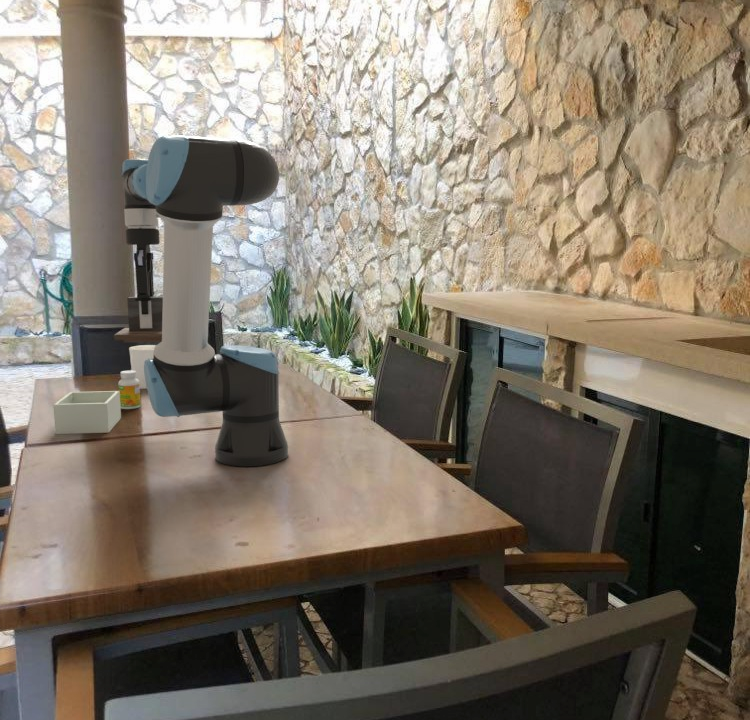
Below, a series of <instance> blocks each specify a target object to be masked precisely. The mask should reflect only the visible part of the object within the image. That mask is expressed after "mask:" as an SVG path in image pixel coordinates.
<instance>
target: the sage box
mask: <svg viewBox="0 0 750 720" xmlns="http://www.w3.org/2000/svg"><path fill="white" fill-rule="evenodd" d="M121 411H122V409H121V408H120V391H119V390H108V391H107V390H106V391H105V390H103V391H102V390H101V391H69V392H68V393H66V394H65V395H63V397H61V398H60V399H59V400H57V402H56V401H55V403H54V404H53V415H54V416H53V417H54V418H53V419H54V429H55V431H54V434H55V435H65V434H67V435H68V434H69V435H70V434H98V433H99V434H103V433H106V434H107V433H110V432H111V430H112V429H113V428H114V427H115V426H116V425H117V424H118V422H119V421H120V420H121V418H122V412H121Z"/></svg>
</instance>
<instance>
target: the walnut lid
mask: <svg viewBox="0 0 750 720" xmlns="http://www.w3.org/2000/svg"><path fill="white" fill-rule="evenodd" d="M135 298H137V296H129V297H127V301H126V302H127V314H128V327H124V328H122V329H121V330H119V331H118V332H116V333H115V334H113V338H114V339H113V340H114V341H122V343H153V342H155V343H156V342H158V343H160V342H162V313H163V296H156V297H150V301H151V309H152V328H140V315H139V301H136V300H135Z"/></svg>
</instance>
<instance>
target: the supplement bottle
mask: <svg viewBox="0 0 750 720" xmlns="http://www.w3.org/2000/svg"><path fill="white" fill-rule="evenodd" d="M135 377H136V371H132V369H130V370H129V369H128V370H122V371H120V378H121V379H120V380H119V381H118V385H117V386H118V391H120V408H121V410H135V409H138V408H140V407H141V389H140V384H139V380H138V379H136V378H135Z"/></svg>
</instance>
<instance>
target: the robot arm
mask: <svg viewBox="0 0 750 720" xmlns="http://www.w3.org/2000/svg"><path fill="white" fill-rule="evenodd" d="M148 154H149V155H148V158H147V159H141V158H131V159H125V160H123V162H122V172H121V177H122V186H123V198H124V199H123V200H124V202H123V203H124V209H123V211H124V225H125V227H127V228H126V230H125V241H126V244H127V245H129V246H130V245H131V246H133V245H134V246H135V248H136V252H134V253H133V261H134V267H135V281H136V297H137V298H135V300H136V301H139V315H140V328H152V309H151V301H150V297H157V295H155V292H154V265H153V264H154V263H153V262H154V253H153V252H151V246H150V245H159V244H160V241H161V239H160V230H159V229H158V228H157V227H158V226H159V219H158V218H160V219H161V220H162V221H163V222H164V223H163V225H164V226H163V228H164V229H163V270H162V271H163V272H162V273H163V275H162V276H163V277H162V278H163V279H162V297H163V313H162V342H158V344H156V346H155V348H154V355H153V359H151V358H149V359H147V360H145V362H144V375H145V381H146V386H147V389H146V390H147V393H148V398H149V402H150V405H151V408H152V410H153V412H154V413H155V414H156V415H157V416H158V417H161V418H168V417H169V418H170V417H177V418H180V417H182V416H191V415H201V414H209V413H217V412H218V413H219V412H222V424H221V427H220V430H219V433H218V437H217V441H216V444H215V448H214V449H215V450H214V454H215V455H214V456H215V457H214V458H215V460H216V461H217V462H219V463H221V464H224V465H226V466H233V467H260V466H261V467H262V466H267V465H272V464H276V463H279V462H282V461H284V460H285V459H287V457H289V445H288V441H287V438H286V436H285V433H284V429H283V427H282V425H281V421H280V405H279V403H280V398H279V397H280V395H279V390H280V389H279V388H280V387H279V383H280V382H279V375H280V371H279V365H278V364H279V363H278V357H277V355H276V353H275V352H274V351H272V350H270V349H265V348H261V347H255V346H248V345H247V346H246V345H234V344H233V345H232V344H231V345H230V344H229V345H222V346H221V347H220V350H219V353H217V354H216V352H215V348H213V347H212V346H211V344H209V343H208V337H209V321H210V319H209V317H210V298H211V279H212V278H211V276H212V260H213V259H212V258H213V237H214V236H213V235H214V233H213V232H214V226H215V224H217V223H218V222H220V221H221V220H222V218H223V208H224V206H225V207H227V206H231V207H233V206H249V205H254V204H257V203H260V202H261V203H262V202H263V201H265V200H266V199H268V198H270V197H271V196H272V195H273V194H274V192H275V191H276V190H277V187H278V186H279V182H280V170H279V166H278V163H277V161H276V159H275V158H274V156H273V155H272V154H271V152H269V151H268V150H267V149H265V148H264V147H262V146H261V145H259V144H257V143H255V142H253V141H249V140H244V139H238V138H220V137H219V138H217V137H209V136H208V137H206V136H205V137H204V136H195V135H194V136H193V135H184V134H181V135H164V136H163V135H162V136H160V137H158V138H157V139H156V140H154V143H153V144H152V147H151V148H150V151H149V153H148Z"/></svg>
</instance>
